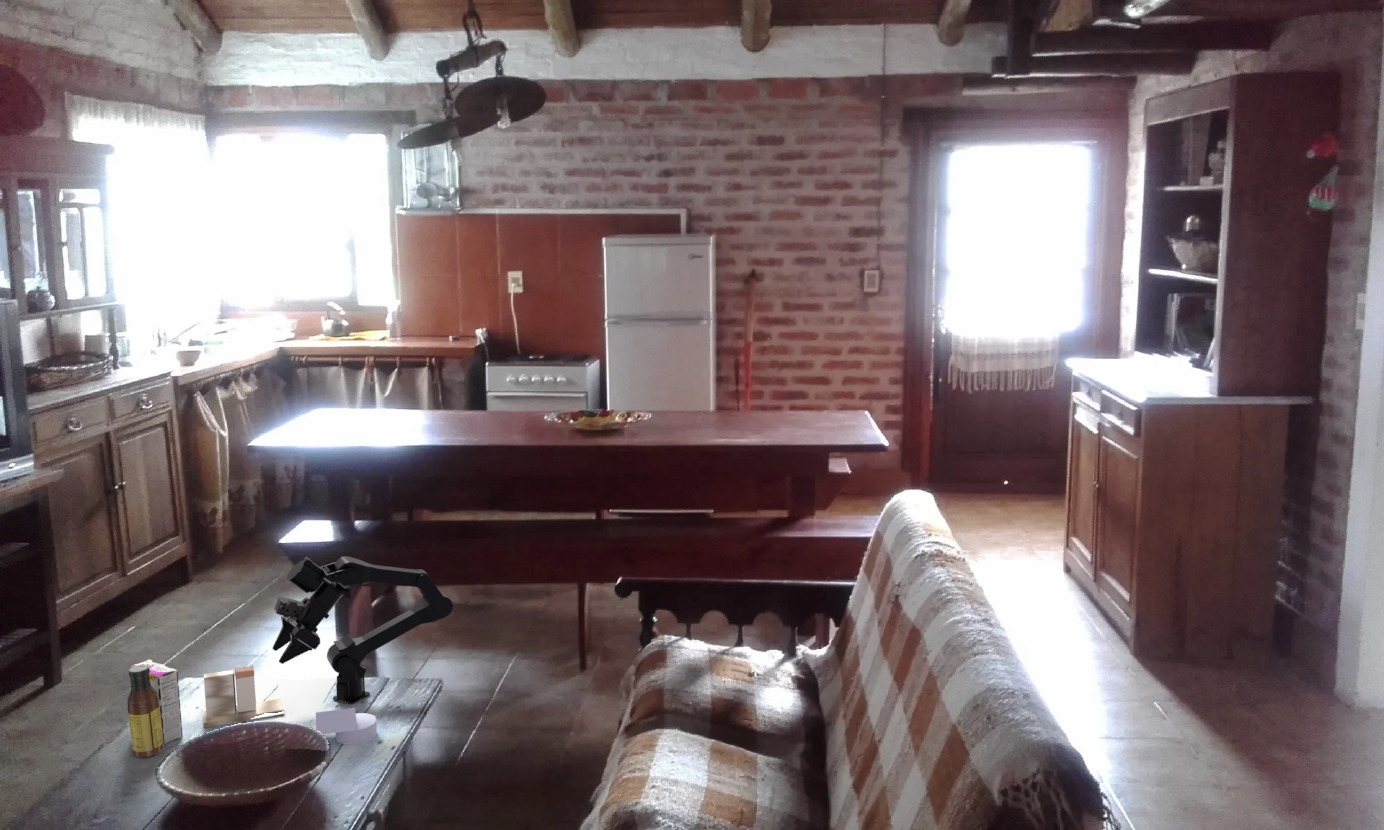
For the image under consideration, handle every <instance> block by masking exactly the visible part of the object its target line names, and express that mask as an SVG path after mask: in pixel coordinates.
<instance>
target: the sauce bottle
mask: <svg viewBox="0 0 1384 830" xmlns="http://www.w3.org/2000/svg"><path fill="white" fill-rule="evenodd" d="M149 672H150V670H149V666H148V665H137V666H134V667H132V668H131V667H130V668H129V669H128V676H129V678H130V691H129V696H128V698H127V714H128V715H127V716H128V724H129V725H128V726H129V731H130V738H131V748H132V751H133V755H135V756H136V757H137V758H148V757H154V756H156V755H159V754H160V753H161V752H162V751H163V750H164V744H163V742H164V740H163V732H162V724H161V716H160V707H159V704H158V696H157V692H156V691H155V689H154V688H153V687H152V686H151V683H150V679H149Z"/></svg>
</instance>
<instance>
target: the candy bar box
mask: <svg viewBox="0 0 1384 830" xmlns="http://www.w3.org/2000/svg"><path fill="white" fill-rule="evenodd" d="M137 665H148V666H149V670H150V672H149V679H150V683H151V686H152V687H153V688H154V689H155V691H156V692H157V696H158V704H159V707H160V716H161V724H162V732H163V740H164V742H163V745H165V744H168V743H170V742H173V741H176V740H178V739H180V738H183V737H184V736H183V725H182V723H183V722H182V713H181V712H182V711H181V700H180V688H179V687H180V686H179V674H178V673H179V672H178V669H176V668H173V667H170V666H169V665H168V666H167V665H165V664H162V663H159V662H156V661H155V660H152V659H147V660H146V659H145V660H143V661H141V662H138V663H134V664H132V665H131V666H130V668H132V667H134V666H137Z"/></svg>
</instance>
